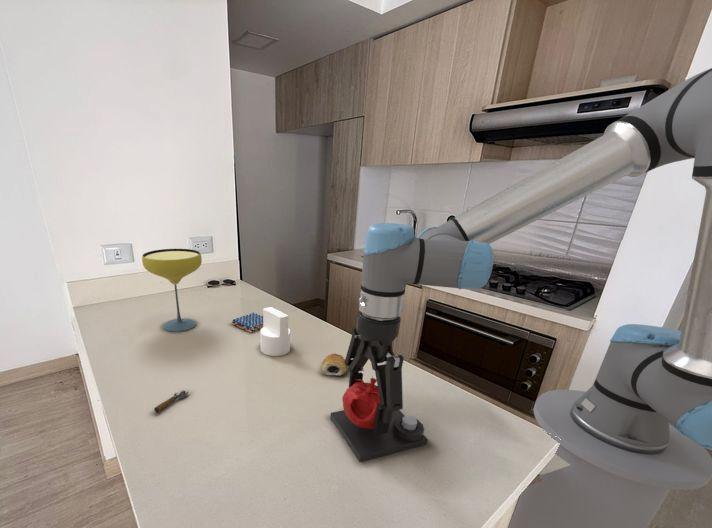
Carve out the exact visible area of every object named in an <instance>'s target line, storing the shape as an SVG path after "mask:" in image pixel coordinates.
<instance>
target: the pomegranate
mask: <svg viewBox="0 0 712 528" xmlns="http://www.w3.org/2000/svg"><path fill="white" fill-rule="evenodd" d="M355 380H356V379H355ZM358 381H361V382H356V383H354V384H353V385H352V386H351V387H349V386H348V387H347V389H346V390H345V392H343V395H342V398H341V399H342V407H343V410H344V412H345V414H346V416H347V417H348V418H349V419H350V421H351V422H352V423H353V424H355V425H356V426H358V427H360V428H365V429H373V428H374V425H375V418H376V411H377V404H380V398H379V392H378V385H377V379H376V377H374V376H371V378H370V382H365V381H364V380H361V379H359V380H358ZM386 401H387V400H386Z"/></svg>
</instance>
